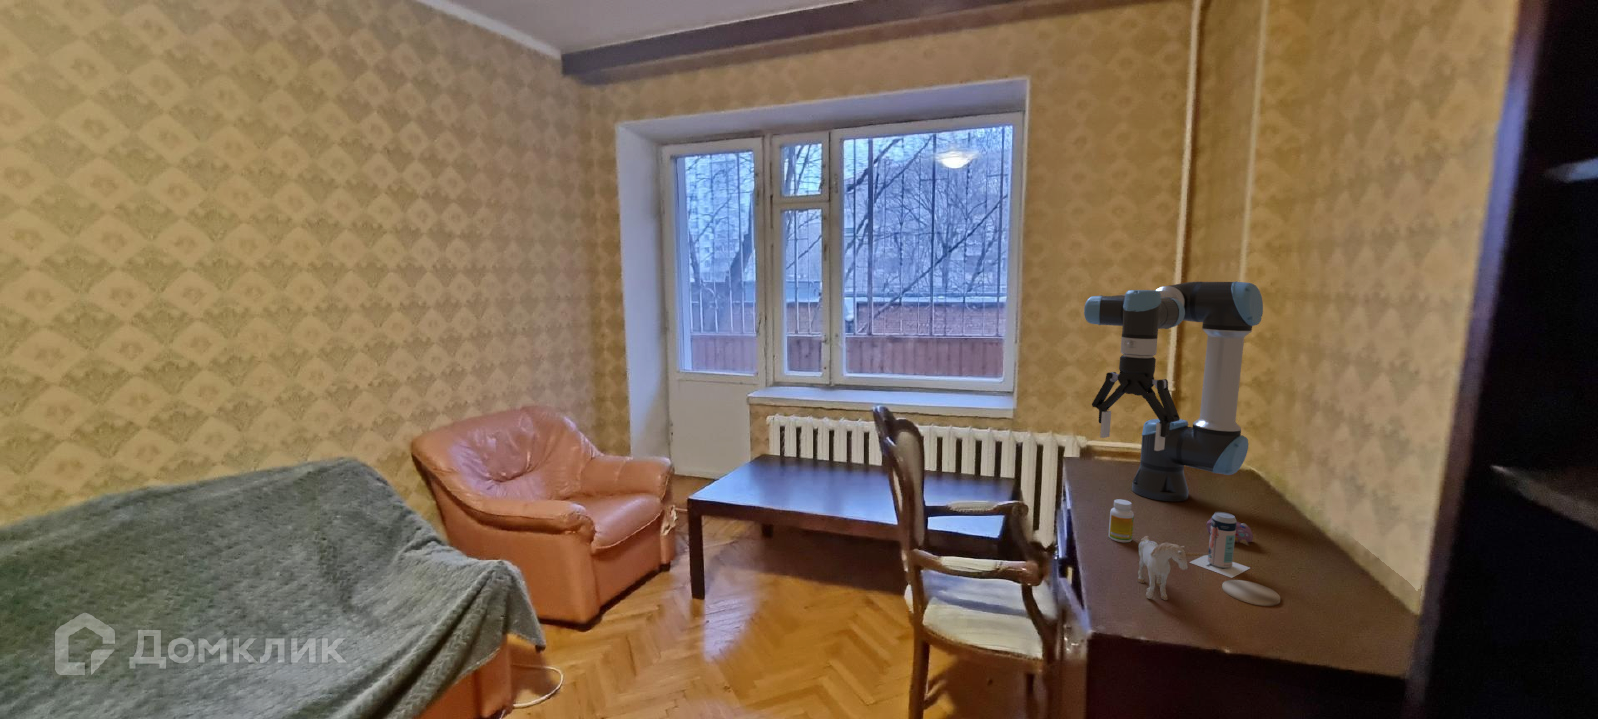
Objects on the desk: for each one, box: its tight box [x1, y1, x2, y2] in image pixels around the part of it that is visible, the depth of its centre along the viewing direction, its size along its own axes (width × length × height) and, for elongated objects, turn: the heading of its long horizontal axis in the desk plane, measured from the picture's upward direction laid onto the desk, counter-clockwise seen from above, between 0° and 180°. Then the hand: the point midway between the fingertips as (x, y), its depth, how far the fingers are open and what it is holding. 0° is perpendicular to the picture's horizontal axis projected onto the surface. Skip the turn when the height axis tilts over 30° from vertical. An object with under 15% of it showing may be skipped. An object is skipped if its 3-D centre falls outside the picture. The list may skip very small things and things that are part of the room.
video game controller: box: [1206, 517, 1254, 543], centre depth 162 cm, size 10×5×7 cm, turn 47°
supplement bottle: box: [1108, 498, 1135, 543], centre depth 162 cm, size 5×5×10 cm
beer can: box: [1207, 511, 1238, 568], centre depth 147 cm, size 5×5×12 cm
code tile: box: [1189, 555, 1251, 579], centre depth 148 cm, size 9×9×1 cm
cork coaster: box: [1221, 579, 1281, 607], centre depth 135 cm, size 10×10×1 cm
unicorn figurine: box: [1137, 535, 1210, 601], centre depth 133 cm, size 7×20×13 cm, turn 2°
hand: (1130, 443), depth 154 cm, fingers open, 13 cm apart
